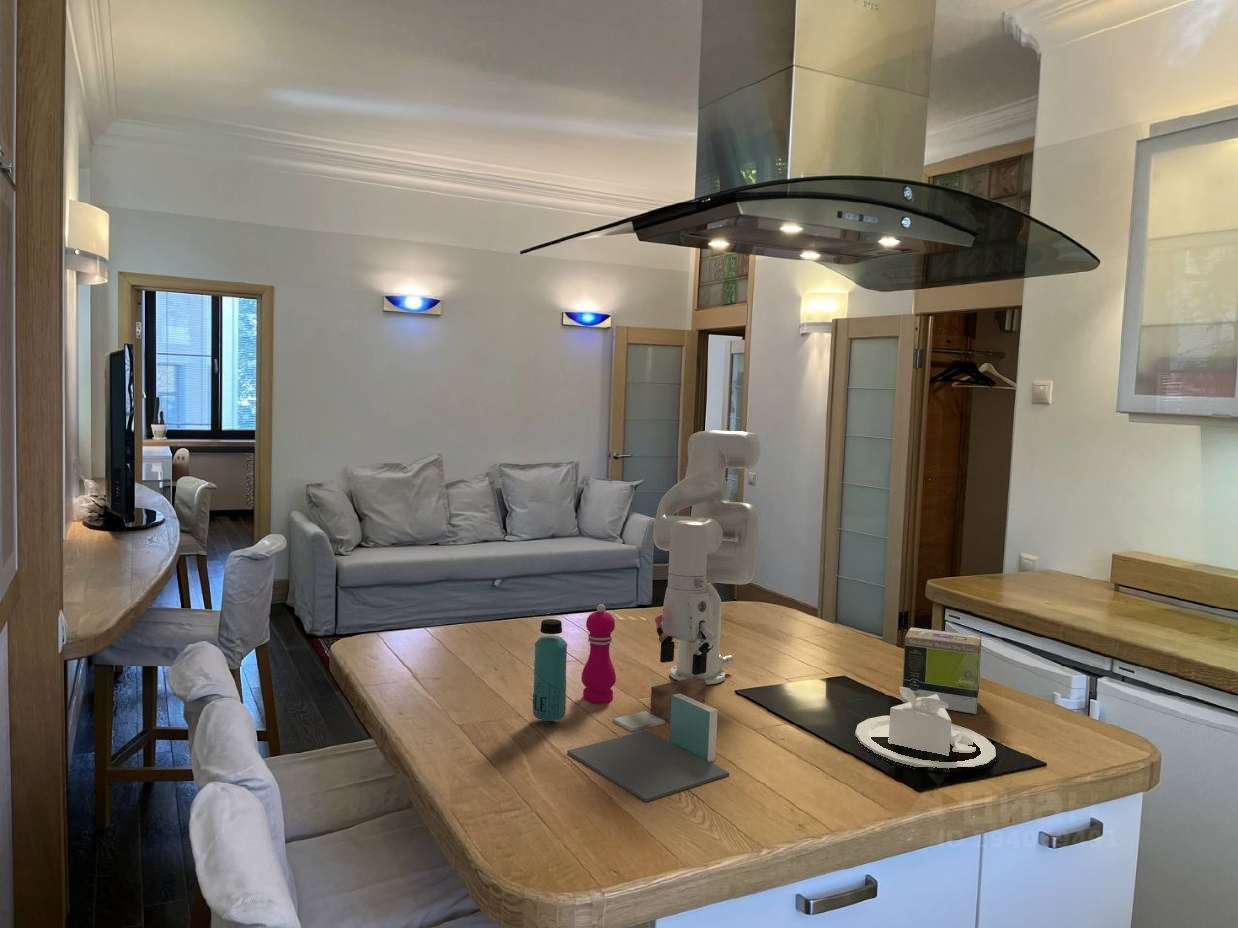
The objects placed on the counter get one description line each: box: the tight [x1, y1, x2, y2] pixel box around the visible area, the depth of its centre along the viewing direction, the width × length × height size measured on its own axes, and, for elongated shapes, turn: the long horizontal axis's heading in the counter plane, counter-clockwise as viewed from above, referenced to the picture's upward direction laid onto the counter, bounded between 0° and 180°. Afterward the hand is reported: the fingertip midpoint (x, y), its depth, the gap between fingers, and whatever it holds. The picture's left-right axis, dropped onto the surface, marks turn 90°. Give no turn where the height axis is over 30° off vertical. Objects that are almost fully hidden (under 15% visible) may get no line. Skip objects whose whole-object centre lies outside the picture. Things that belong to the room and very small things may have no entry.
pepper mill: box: [581, 603, 617, 705], centre depth 180 cm, size 7×7×20 cm
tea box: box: [901, 626, 982, 715], centre depth 186 cm, size 15×10×15 cm, turn 65°
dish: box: [854, 686, 997, 769], centre depth 162 cm, size 25×25×11 cm
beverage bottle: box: [532, 618, 568, 722], centre depth 166 cm, size 6×7×20 cm
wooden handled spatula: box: [612, 677, 706, 733], centre depth 172 cm, size 20×6×6 cm, turn 127°
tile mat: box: [567, 729, 730, 803], centre depth 149 cm, size 18×22×1 cm
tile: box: [669, 693, 718, 763], centre depth 155 cm, size 2×10×9 cm, turn 37°
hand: (682, 667), depth 174 cm, fingers open, 9 cm apart
